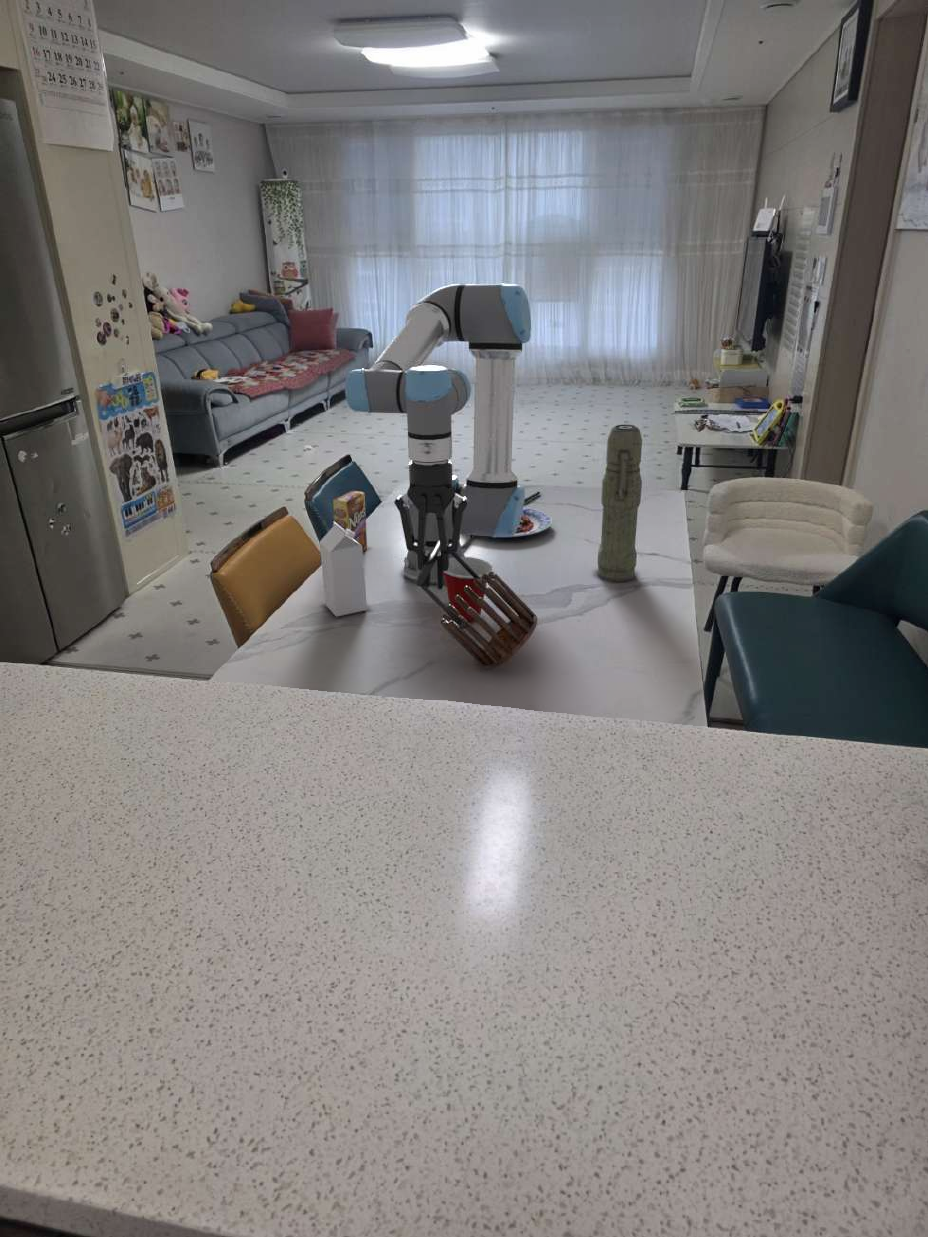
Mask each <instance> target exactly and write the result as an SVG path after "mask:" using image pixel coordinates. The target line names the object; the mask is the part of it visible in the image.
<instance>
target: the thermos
mask: <svg viewBox="0 0 928 1237" xmlns="http://www.w3.org/2000/svg"><path fill="white" fill-rule="evenodd" d="M640 430H641V429H640V428H639V427H637V426H636V425H634V424H617V425H614V426H613V427H611V429H610V432H609V434H608V437H607V440H606V458H605V461H606V467H605V472H604V475H603V478H602V480H601V498H600V499H601V500H600V502H601V505H602V515H601V516H602V517H601V518H602V519H601V520H602V521H601V536H600V544H599V546H598V550H597V576H598V577H599V578H600V579H602V580H604V581H609V582H617V583H619V582H620V583H621V582H627V581H631V580H633V579H634V578H635V572H636V570H635V569H636V566H637V556H638V552H637V549H636V537H637V526H638V511H639V507H640V505H641V500H642V485H643V480H642V477H641V467H640V466H641V464H640V463H641V462H642V450H643V438H642V433H641V431H640Z"/></svg>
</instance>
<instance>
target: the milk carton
mask: <svg viewBox="0 0 928 1237" xmlns="http://www.w3.org/2000/svg"><path fill="white" fill-rule="evenodd" d="M332 524H333V525H332V527H331V529H329V531H327V533H326V534H325V535H324V536H323V537H322V539H320V541H319V550H320V559H321V560H320V562H321V570H322V580H323V590H324V601H325V607H327V609H329V611H330V612H331V613H332V614H333V615H334V617H337V618H338V617H342V616H346V615H351V614H355V613H360V612H364V611H368V605H367V604H368V603H367V602H368V601H367V591H366V578H365V565H364V552H363V551H364V550H362V546H361V545H360V544H359V543H358V542H357V541H355V540H354V539H353V538H354V536H355V533H353V532H352V531H350V530H349V529H346V531H345V530H344V529H343V528H342V527H340V526H339V525H338V524H337V523H336V522H335V521H334V520H333V521H332Z"/></svg>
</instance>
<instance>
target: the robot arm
mask: <svg viewBox="0 0 928 1237" xmlns="http://www.w3.org/2000/svg"><path fill="white" fill-rule="evenodd" d="M531 332H532V315H531V309H530V303H529V298H528V295H527V292H526V290H525V289H524V287H522V286H521V285H519V284H515V283H513V284H511V283H503V282H502V283H501V282H500V283H469V284H468V283H467V284H466V283H454V284H448V285H445V286H441V287H439V288H437V289H435V290H433V291H432V292H430V293H428V294H427V295H425V296H423V297H422V298H421V299H419V300H418V301H417V302H416V303H415V304H413V306H412V307H411V309H410V310H409V311H408V312H407V315H406V317H405V323H404V325H403V326H402V328H401V329H400V330H399V332H397V334H396V336H394V338H393V339H392V341H391V342H390V343H389V344H388V346H387V347H386V348H385V349H384V350H383V352H382V353H381V354H380V355H379V357H378V358H377V359H376V360H375V362H374V363H373V365H371V367H370V368H369V369H365V368H361V369H353V370H351V371H349V373H348V374H347V376H346V379H345V383H344V395H345V399H346V403H347V406H348V407H349V408H350V410H352V411H354V412H361V413H368V414H372V413H373V414H404V415H405V414H406V420H407V422H406V423H407V450H408V452H407V453H408V459H409V460H411V461H410V462H408V477H409V486H408V489H407V491H406V493H404V494H402V495H401V494H399V495H398V496H397V497H396V498H395V500H394V502H393V503H394V505H395V507H396V509H397V510H398V512H399V515H400V516H399V517H400V520H401V526H402V531H403V536H404V542H405V547H406V550H407V554H406V556H404V559H403V563H404V567H403V572H404V576H405V577H406V578H407V579H409V580H410V581H413V582H415V583H416V580H417V578H418V576H419V575H420V573H421V571H422V569H423V567H424V566H425V564H426V562H427V560H428V558H429V557H430V555H431V553H432V551H433V549H434V548H435V546H436V544H437V542H438V540H439V541H440V549H441V551H439V552H438V555H437V560H436V562H435V564H434V565H433V567H432V569H431V571H430V573H429V575H428V577H427V578H426V580H425V582H424V584H425V585H426V586H427V587H428V588H429V589H430V585H436V584H437V590H443V588H444V585H445V584H446V582H445V578H444V571H447V570H448V568H449V559H450V558H454V557H453V556H452V555H451V554H450V553H451V552H456V553H457V554H458V555H459V556H460V557H466V555H465V554H464V550H465V549H466V548H467V547H468V545H469V544H470V542H471V541H472V540H473V537H474V536H480V537H481V536H482V537H492V538H493V539H495V538H511V537H510V536H512V535H514V534H515V532H516V531H517V529H518V526H519V523H520V520H521V516H522V512H523V507H524V508H525V503H527V502H529V501H530V500H532V499H535V497H537V496H539V495H540V494H541V491H539V490H538V491H536V492H534V493H533V494H531V495H529V496H528V497H526V496H525V494H526V493H525V489H524V488H525V487H523V486H521V485H518V480H519V479H518V476H517V475H516V474H515V473H514V472H513V471H512V458H513V457H512V456H513V455H512V454H513V426H514V401H515V400H514V398H515V397H514V394H515V393H514V392H515V370H516V369H515V368H516V367H515V366H516V359H517V357H518V356H520V355H521V353H523V344H526V343H528V342H530V339H531V337H532V336H531V335H532V334H531ZM449 342H462V343H463V342H464V343H465V342H467V343H468V352H469V353H470V354H471V355H472V356H473V357H474V360H475V361H474V363H475V366H474V410H473V414H474V416H473V418H474V419H473V421H474V422H473V462H472V463H473V464H472V465H473V467H472V471H471V472H470V473H469V474H467V475H466V482H465V483H459V482H460V480H459V478H458V476H457V475H454V474H453V462H452V461H451V459H452V458H453V435H452V415H454V414H456V413H458V412H460V411H461V410H463V408H464V407H465V406H466V404H468V402H469V400H470V398H471V395H472V387H471V386H472V385H471V383H470V380H469V379H468V377H467V375H466V374H465V373H464V372H462V371H461V370H459V369H455V368H447V367H445V366H441V365H424V364H425V363H426V361H427V360H428V358H429V357H430V355H431V354H432V353H433V351H434V350H435V349H437V348H439V347H442V346H443V345H444V344H445V343H449ZM525 497H526V498H525ZM461 535H463V536H464V535H466V536H467V535H468V538H467V539H466V541H465V542H464V543H463V544H462V545H461V542H460V540H461Z"/></svg>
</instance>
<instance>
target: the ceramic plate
mask: <svg viewBox="0 0 928 1237" xmlns="http://www.w3.org/2000/svg"><path fill="white" fill-rule="evenodd" d="M552 525H553V518H552V517H551V516H550V515H549V514H547V513H546V512H544V511H542V510H539V509H534V508H530V507H525V506H524V507H523V512H522V516H521V520H520V523H519V526H518V529H517V531H516V532H515V534H514V535H512V536H510V537H509V538H518V537H524V536H531V535H535V534H538V533H541V532H544V531H546V530H547V529H549V528H550V527H552Z"/></svg>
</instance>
